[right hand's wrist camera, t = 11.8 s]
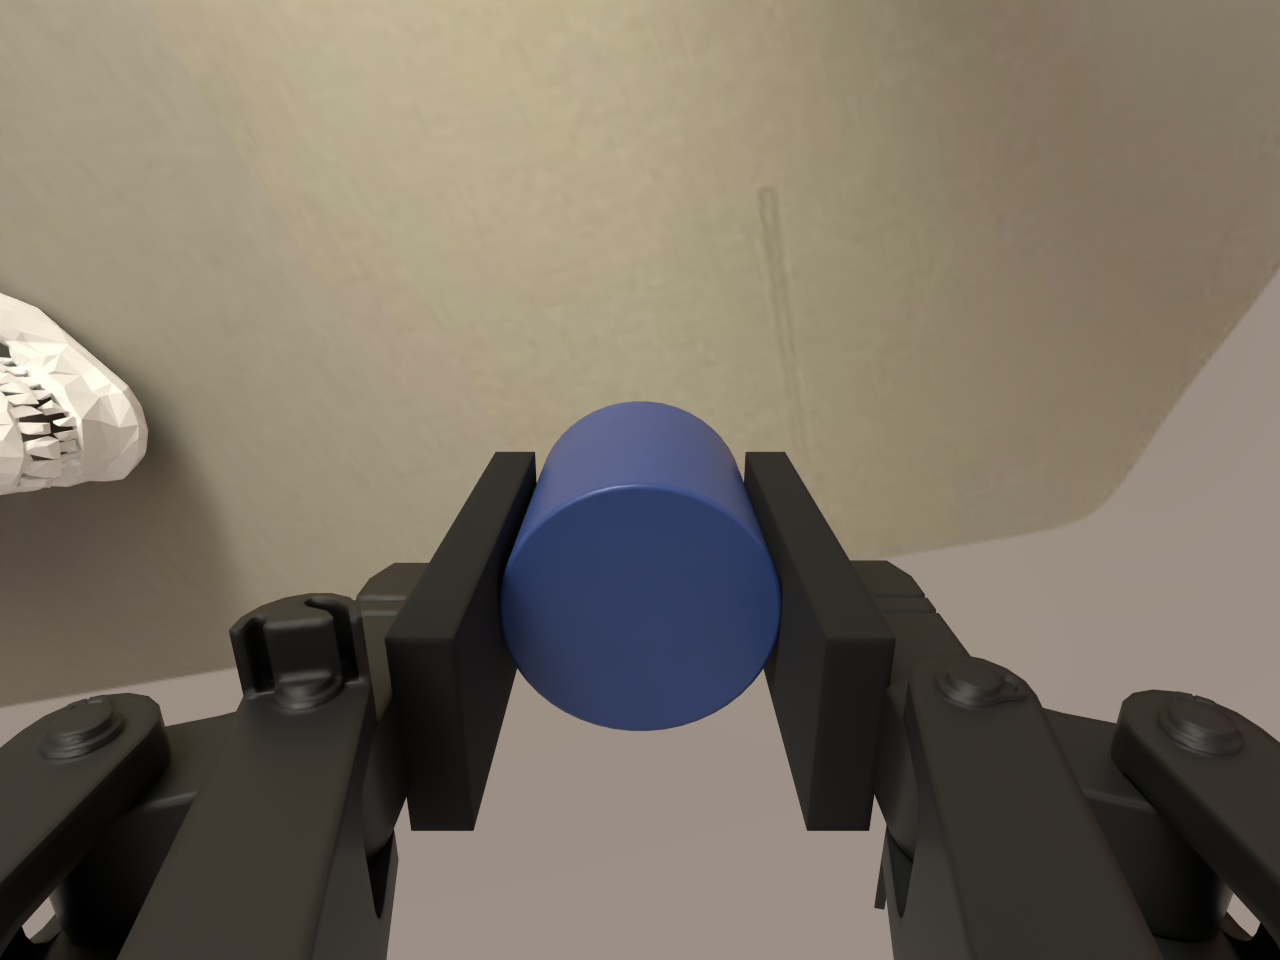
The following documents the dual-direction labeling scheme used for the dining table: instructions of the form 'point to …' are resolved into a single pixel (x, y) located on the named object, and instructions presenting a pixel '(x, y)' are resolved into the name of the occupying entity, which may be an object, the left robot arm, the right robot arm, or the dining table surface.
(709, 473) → the canister
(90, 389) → the skull
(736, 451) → the dining table surface
